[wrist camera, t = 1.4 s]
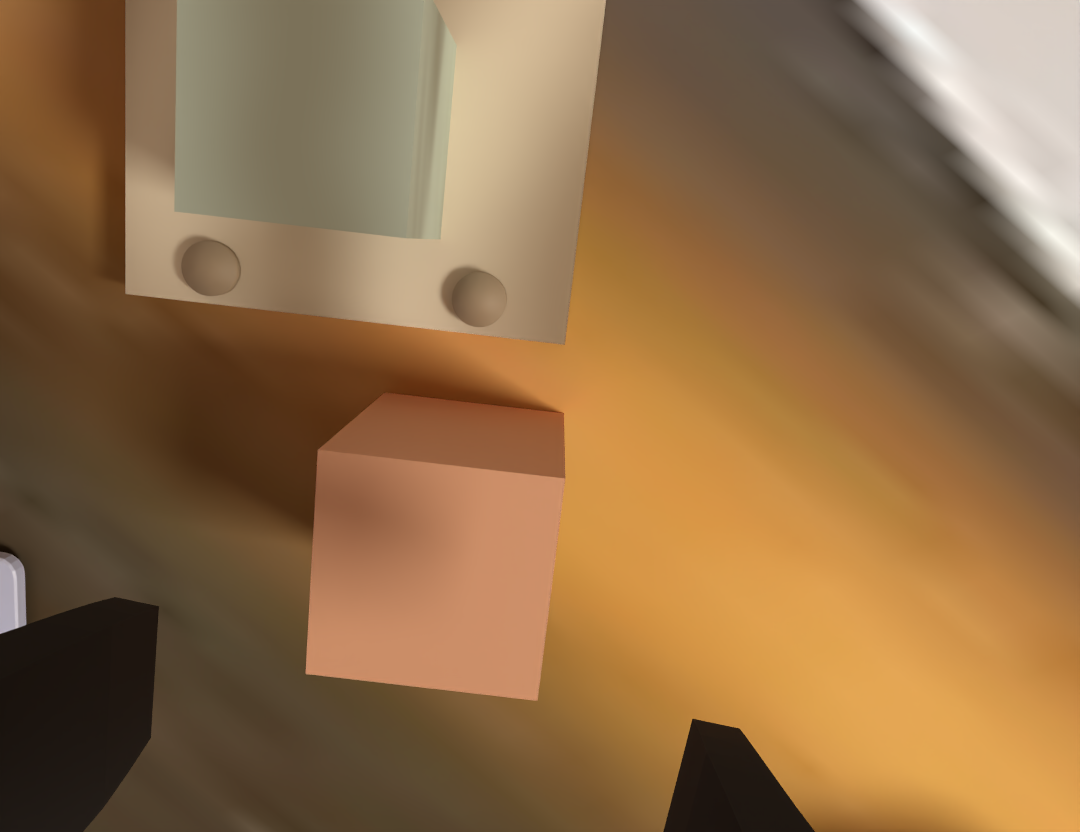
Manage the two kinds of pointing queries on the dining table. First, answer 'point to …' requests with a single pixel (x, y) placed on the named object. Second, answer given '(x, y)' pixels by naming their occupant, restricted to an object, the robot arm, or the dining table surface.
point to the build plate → (389, 274)
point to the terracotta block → (436, 545)
